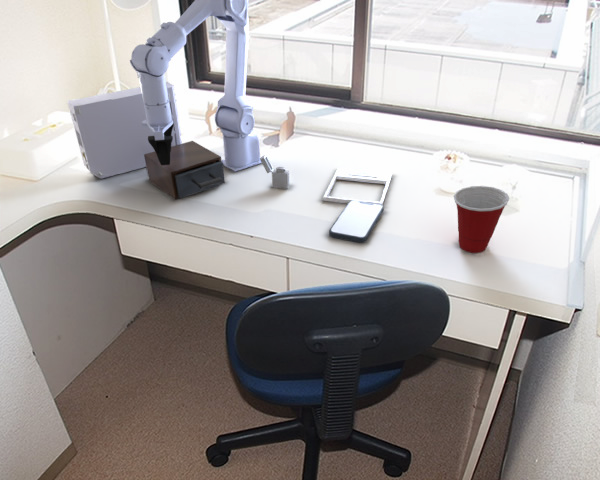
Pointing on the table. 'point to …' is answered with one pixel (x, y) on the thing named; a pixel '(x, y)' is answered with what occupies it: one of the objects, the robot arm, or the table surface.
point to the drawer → (199, 178)
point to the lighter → (276, 174)
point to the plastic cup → (478, 215)
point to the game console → (116, 130)
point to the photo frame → (362, 177)
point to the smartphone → (356, 221)
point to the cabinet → (177, 164)
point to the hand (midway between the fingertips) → (166, 158)
